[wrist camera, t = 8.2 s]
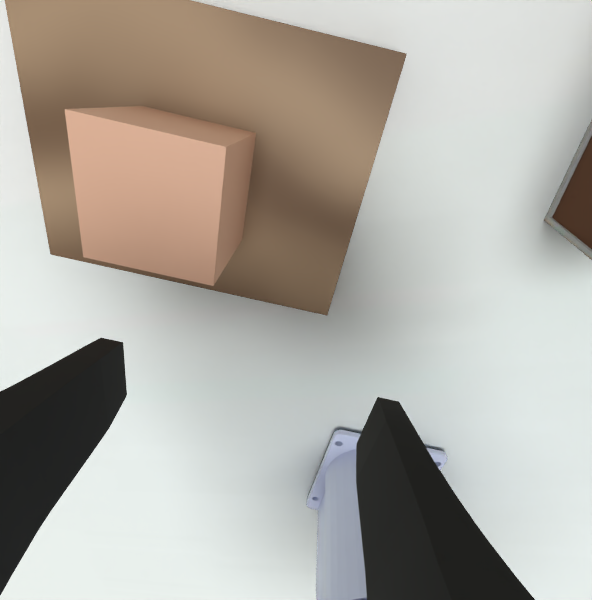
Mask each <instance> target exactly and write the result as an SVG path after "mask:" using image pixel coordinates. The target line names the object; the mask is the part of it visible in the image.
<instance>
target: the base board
mask: <svg viewBox="0 0 592 600" xmlns="http://www.w3.org/2000/svg"><path fill="white" fill-rule="evenodd" d="M5 4H6V10H7V15H8V21H9V26H10V32H11V37H12V43H13V48H14V54H15V60H16V65H17V71H18V76H19V82H20V87H21V93H22V98H23V104H24V110H25V115H26V121H27V126H28V132H29V137H30V143H31V148H32V154H33V160H34V165H35V171H36V176H37V182H38V187H39V193H40V198H41V204H42V210H43V215H44V221H45V226H46V232H47V237H48V243H49V249H50V254H52V255H56V256H61V257H65V258H70V259H74V260H79V261H83V262H88V263H92V264H97V265H101V266H106V267H110V268H115V269H119V270H124V271H128V272H133V273H137V274H142V275H146V276H151V277H156V278H160V279H165V280H169V281H174V282H178V283H183V284H187V285H192V286H196V287H201V288H205V289H210V290H214V291H219V292H223V293H228V294H232V295H237V296H241V297H246V298H250V299H255V300H260V301H264V302H269V303H273V304H278V305H282V306H287V307H291V308H296V309H300V310H305V311H309V312H314V313H318V314H323V315H327V314H328V311H329V307H330V304H331V301H332V298H333V294H334V291H335V288H336V284H337V281H338V278H339V275H340V271H341V268H342V265H343V261H344V258H345V255H346V252H347V248H348V245H349V242H350V238H351V235H352V232H353V229H354V225H355V222H356V219H357V215H358V212H359V209H360V206H361V202H362V199H363V196H364V192H365V189H366V186H367V183H368V179H369V176H370V173H371V169H372V166H373V163H374V160H375V156H376V153H377V150H378V146H379V143H380V140H381V137H382V133H383V130H384V127H385V123H386V120H387V117H388V114H389V110H390V107H391V104H392V100H393V97H394V94H395V91H396V87H397V84H398V81H399V77H400V74H401V71H402V68H403V64H404V61H405V58H406V54H405V53H401V52H397V51H393V50H389V49H385V48H381V47H377V46H373V45H369V44H365V43H361V42H357V41H353V40H349V39H345V38H341V37H337V36H333V35H328V34H324V33H320V32H316V31H312V30H308V29H304V28H300V27H296V26H292V25H288V24H284V23H280V22H276V21H272V20H268V19H264V18H260V17H256V16H251V15H247V14H243V13H239V12H235V11H231V10H227V9H223V8H219V7H215V6H211V5H207V4H203V3H199V2H195V1H191V0H5ZM128 106H144V107H149V108H153V109H157V110H161V111H165V112H170V113H174V114H178V115H182V116H187V117H191V118H195V119H199V120H204V121H208V122H212V123H216V124H220V125H225V126H229V127H233V128H237V129H242V130H246V131H250V132H254V133H256V138H255V146H254V153H253V161H252V168H251V176H250V184H249V191H248V199H247V206H246V214H245V222H244V229H243V237H242V241H241V242H240V244H239V246H238V247H237V249H236V250H235V252H234V254H233V255H232V257H231V258H230V260H229V262H228V263H227V265H226V267H225V268H224V270H223V271H222V273H221V275H220V276H219V278H218V279H217V281H216V283H215V284H214V286H211V285H206V284H202V283H197V282H193V281H188V280H184V279H179V278H175V277H170V276H166V275H161V274H157V273H152V272H148V271H143V270H139V269H134V268H130V267H125V266H121V265H116V264H112V263H107V262H103V261H98V260H94V259H89V258H85V257H83V251H82V243H81V235H80V227H79V219H78V211H77V204H76V196H75V188H74V180H73V172H72V164H71V156H70V148H69V140H68V132H67V125H66V117H65V109H79V108H104V107H128Z"/></svg>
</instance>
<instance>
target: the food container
mask: <svg viewBox="0 0 592 600" xmlns="http://www.w3.org/2000/svg"><path fill="white" fill-rule="evenodd" d="M544 221H546V222H547V223H548V224H549V225H550V226H552V227H553V228H554V229H555V230H556V231H558V232H559V233H560V234H561V235H562V236H564V237H565V238H566V239H567V240H568V241H570V242H571V243H572V244H573V245H574V246H576V247H577V248H578V249H579V250H580V251H582V252H583V253H584V254H585V255H586V256H588V257H589V258H590V259H591V260H592V120H591V122H590V124H589V126H588V129H587V131H586V133H585V135H584V137H583V139H582V141H581V143H580V145H579V147H578V150H577V152H576V154H575V156H574V158H573V160H572V162H571V164H570V166H569V168H568V171H567V173H566V175H565V177H564V179H563V181H562V183H561V185H560V187H559V189H558V192H557V194H556V196H555V198H554V200H553V202H552V204H551V206H550V208H549V210H548V213H547V215H546V217H545V219H544Z"/></svg>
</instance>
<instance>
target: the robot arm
mask: <svg viewBox="0 0 592 600" xmlns="http://www.w3.org/2000/svg"><path fill="white" fill-rule="evenodd" d="M126 395H127V392H126V378H125V364H124V350H123V342H118V341H114V340H109V339H104V338H100V339H98V340H96V341H94V342H92V343H90V344H88V345H86V346H85V347H83V348H81V349H79V350H77V351H76V352H74V353H72V354H70V355H68V356H67V357H65V358H63V359H61V360H59V361H57V362H56V363H54V364H52V365H50V366H48V367H46V368H45V369H43V370H41V371H39V372H37V373H35V374H33V375H32V376H30V377H28V378H26V379H24V380H22V381H20V382H19V383H17V384H15V385H13V386H11V387H9V388H7V389H5V390H3V391H1V392H0V595H1V593H2V591H3V590H4V588H5V586H6V584H7V583H8V581H9V579H10V577H11V575H12V574H13V572H14V570H15V569H16V567H17V565H18V564H19V562H20V560H21V558H22V557H23V555H24V553H25V552H26V550H27V548H28V547H29V545H30V543H31V542H32V540H33V538H34V536H35V535H36V533H37V531H38V530H39V528H40V527H41V525H42V524H43V522H44V520H45V519H46V517H47V516H48V514H49V513H50V511H51V510H52V508H53V507H54V506H55V504H56V503H57V501H58V500H59V499H60V497H61V496H62V494H63V493H64V491H65V490H66V489H67V487H68V486H69V484H70V483H71V482H72V480H73V479H74V477H75V476H76V475H77V473H78V472H79V470H80V469H81V467H82V466H83V465H84V463H85V462H86V460H87V459H88V458H89V456H90V455H91V453H92V452H93V451H94V449H95V448H96V446H97V445H98V443H99V442H100V440H101V439H102V438H103V436H104V435H105V433H106V432H107V430H108V429H109V427H110V425H111V423H112V422H113V420H114V418H115V416H116V415H117V413H118V411H119V409H120V407H121V405H122V403H123V401H124V399H125V397H126ZM446 461H447V455H446V453H445V452H443V451H440V450H435V449H430V448H426V447H425V445H424V444H423V442H422V440H421V439H420V437H419V435H418V433H417V432H416V430H415V428H414V427H413V425H412V423H411V421H410V420H409V418H408V416H407V415H406V413H405V411H404V410H403V408H402V406H401V405H400V403H399V402H398V401H393V400H388V399H384V398H379V397H378V398H377V400H376V402H375V404H374V406H373V409H372V411H371V413H370V415H369V417H368V420H367V422H366V424H365V426H364V428H363V431H362V433H361V434H359V433H355V432H350V431H345V430H337V431H335V432H334V434H333V436H332V439H331V441H330V444H329V446H328V448H327V451H326V453H325V456H324V458H323V461H322V463H321V466H320V468H319V471H318V473H317V476H316V478H315V481H314V483H313V486H312V488H311V491H310V493H309V496H308V498H307V504H306V505H307V507H309V508H311V509H316V510H318V533H317V568H316V598H317V600H535V599H534V598H533V597H532V596H531V594H530V593H529V592H528V591H527V590H526V588H525V587H524V586H523V585H522V584H521V582H520V581H519V580H518V579H517V577H516V576H515V575H514V574H513V572H512V571H511V570H510V568H509V567H508V566H507V565H506V563H505V562H504V561H503V559H502V558H501V557H500V556H499V554H498V553H497V552H496V550H495V549H494V548H493V547H492V545H491V544H490V543H489V541H488V540H487V539H486V537H485V536H484V535H483V533H482V532H481V531H480V529H479V528H478V526H477V525H476V524H475V522H474V521H473V519H472V518H471V516H470V515H469V514H468V512H467V511H466V509H465V508H464V506H463V505H462V503H461V502H460V501H459V499H458V498H457V496H456V495H455V493H454V492H453V490H452V489H451V487H450V486H449V484H448V482H447V481H446V479H445V478H444V476H443V474H442V473H441V471H440V470H441V468H442V467H443V466H444V464H445V463H446Z"/></svg>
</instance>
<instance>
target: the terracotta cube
mask: <svg viewBox="0 0 592 600" xmlns="http://www.w3.org/2000/svg"><path fill="white" fill-rule="evenodd" d="M65 117H66V125H67V132H68V140H69V148H70V156H71V164H72V172H73V180H74V188H75V196H76V204H77V211H78V219H79V227H80V235H81V243H82V251H83V257H85V258H89V259H94V260H98V261H103V262H107V263H112V264H116V265H121V266H125V267H130V268H134V269H139V270H143V271H148V272H152V273H157V274H161V275H166V276H170V277H175V278H179V279H184V280H188V281H193V282H197V283H202V284H206V285H211V286H214V284H215V283H216V281H217V279H218V278H219V276H220V275H221V273H222V271H223V270H224V268H225V267H226V265H227V263H228V262H229V260H230V258H231V257H232V255H233V254H234V252H235V250H236V249H237V247H238V246H239V244H240V242H241V241H242V237H243V229H244V222H245V214H246V206H247V199H248V191H249V184H250V176H251V168H252V161H253V153H254V146H255V138H256V133H254V132H250V131H246V130H242V129H237V128H233V127H229V126H225V125H220V124H216V123H212V122H208V121H204V120H199V119H195V118H191V117H187V116H182V115H178V114H174V113H170V112H165V111H161V110H157V109H153V108H149V107H144V106H128V107H104V108H79V109H65Z"/></svg>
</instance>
